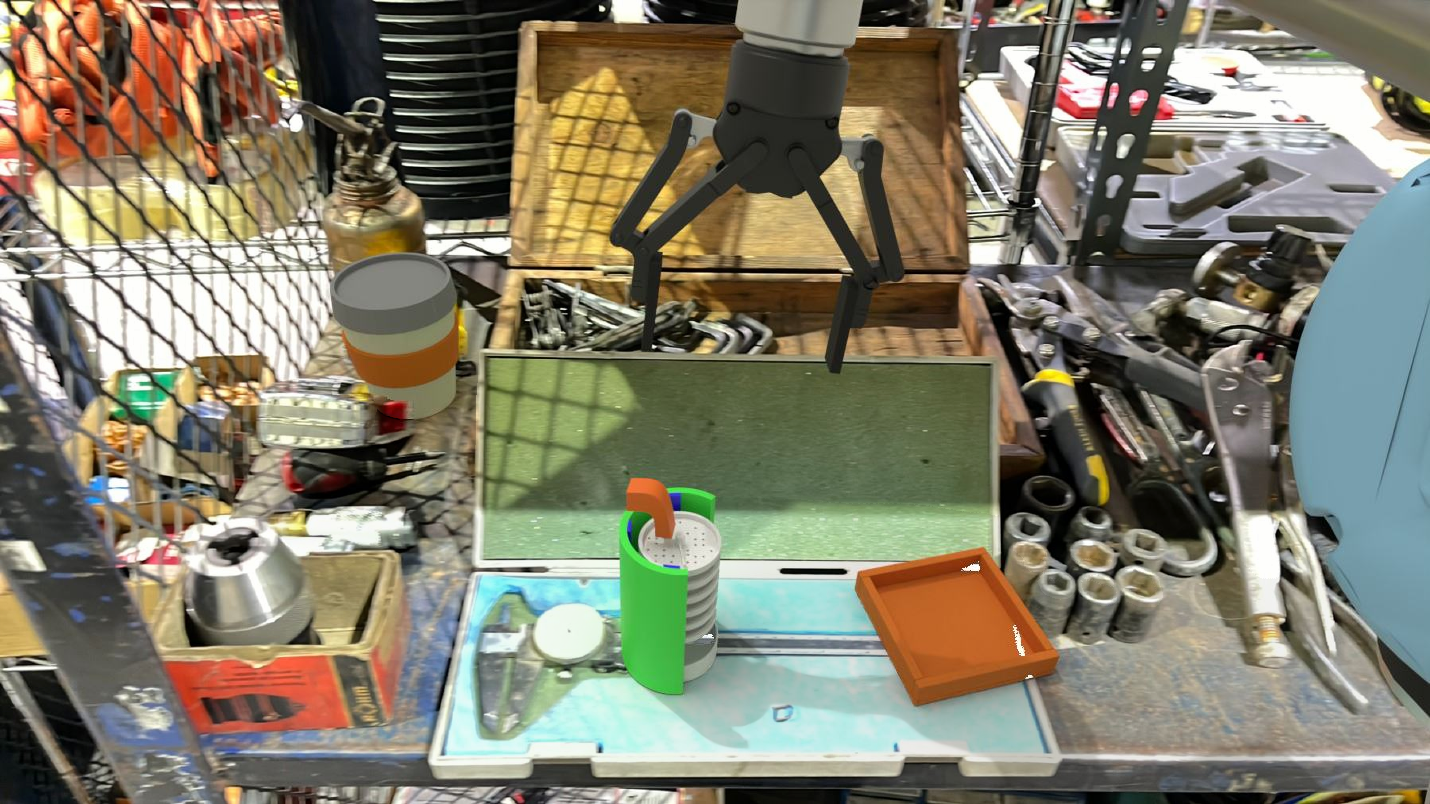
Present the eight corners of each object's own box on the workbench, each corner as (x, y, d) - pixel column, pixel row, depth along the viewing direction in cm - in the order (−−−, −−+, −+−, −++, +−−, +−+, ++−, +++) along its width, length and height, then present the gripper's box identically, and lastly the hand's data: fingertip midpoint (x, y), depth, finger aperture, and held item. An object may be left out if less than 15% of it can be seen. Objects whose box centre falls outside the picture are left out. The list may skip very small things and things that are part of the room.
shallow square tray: (1052, 674, 76) (1060, 656, 74) (914, 706, 73) (919, 688, 71) (978, 564, 85) (984, 546, 84) (854, 589, 82) (857, 570, 81)
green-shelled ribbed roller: (718, 694, 73) (727, 536, 62) (617, 694, 73) (609, 535, 62) (716, 605, 80) (724, 450, 69) (624, 605, 80) (618, 448, 69)
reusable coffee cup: (376, 362, 108) (349, 249, 99) (482, 365, 108) (465, 252, 99) (341, 429, 98) (308, 309, 89) (458, 431, 98) (437, 313, 89)
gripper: (969, 66, 61) (896, 354, 70) (596, 10, 59) (573, 315, 68) (1004, 81, 54) (919, 397, 64) (586, 18, 52) (561, 355, 61)
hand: (740, 355), depth 66 cm, fingers open, 13 cm apart
